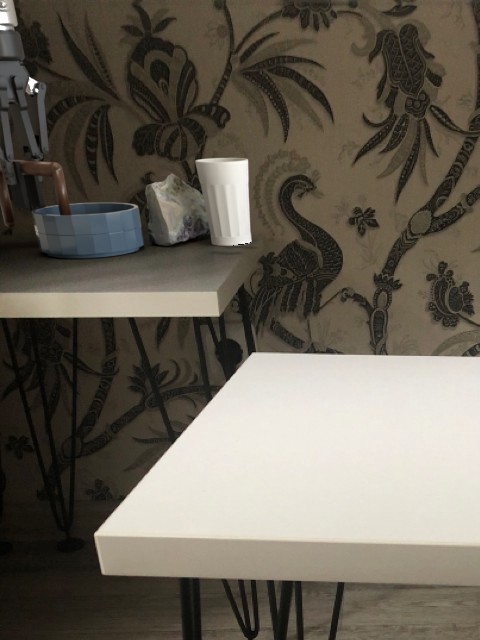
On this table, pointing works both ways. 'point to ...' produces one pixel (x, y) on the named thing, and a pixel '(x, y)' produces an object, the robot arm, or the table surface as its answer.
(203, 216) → the mineral rock
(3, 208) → the bent rod with disc
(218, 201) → the cup
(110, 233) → the bowl
